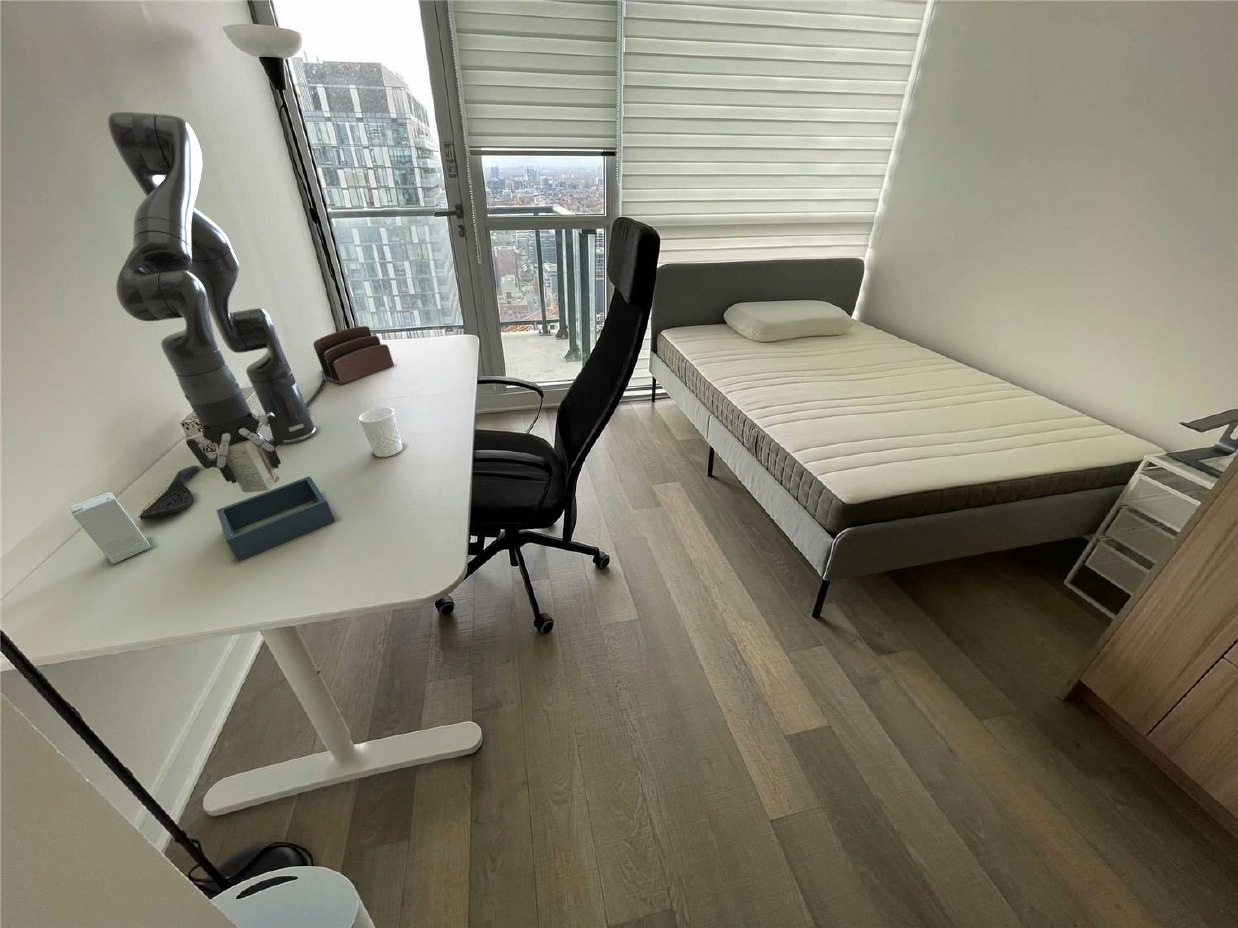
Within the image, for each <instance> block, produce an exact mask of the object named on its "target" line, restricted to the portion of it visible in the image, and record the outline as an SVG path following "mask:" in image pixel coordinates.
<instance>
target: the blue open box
mask: <svg viewBox="0 0 1238 928" xmlns="http://www.w3.org/2000/svg"><path fill="white" fill-rule="evenodd" d="M312 500H315V502H314V503H312V504H309V505H307V506H304V507H302V508H299V509H296V510H294V511H291V512H289V513H286V514H283V515H281V516H279V517H276V518H273V519H271V520H268V521H266V522H263V523H261V524H258V525H256V526H253V527H251V528H250V527H249V528H248V529H245V530H243V531H241V532H238V533H236V530H237V529H240V528H243V527H245V526H247V525H250V524H252V523H255V522H257V521H260V520H263V519H265V518H268V517H270V516H273V515H276V514H278V513H281V512H284V511H286V510H289V509H291V508H294V507H296V506H299V505H302V504H304V503H306V502H309V501H312ZM216 513H217V516H218V519H219V522H220V526H221V529H222V533H223V535H224V538H225V541H226V543H227V545H228V547H229V548H230V550H231V552H232V553H233V555H234V556H235V558H236V560H237V562H241V561H243V560H245V559H247V558H251V557H253V556H255V555H257V554H260V553H262V552H264V551H267V550H269V549H271V548H274V547H276V546H279V545H281V544H284V543H286V542H288V541H290V540H293V539H295V538H298V537H300V536H303V535H306V534H307V533H310V532H313V531H315V530H318V529H320V528H322V527H325V526H328V525H329V524H332V523H334V522H336V519H335V517H334V515H333V513H332V510H331V508H330V506H329V503H328V501H327V499H326V498H325V496H324V495H323V493H322V492H321V490H320V489H319V487H318V486H317V484H316V483H315V481H314V480H313V479H312V477H311V476H310V475H309V476H306V477H303V478H300V479H298V480H294V481H292V482H289V483H287V484H284V485H280V486H278V487H275V488H273V489H269V490H268V491H263V492H262V493H259V494H256V495H253V496H251V497H248V498H246V499H242V500H239V501H237V502H234V503H231V504H228V505H226V506H223V507H220V508H218V509H216Z"/></svg>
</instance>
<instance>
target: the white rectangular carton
mask: <svg viewBox="0 0 1238 928" xmlns="http://www.w3.org/2000/svg"><path fill="white" fill-rule="evenodd" d="M255 435H257V436H258V434H255ZM256 440H257V439H256ZM219 447H220V446H219ZM219 447H218V448H219ZM226 463H227V464H228V466H229V468H230V470H231V472H232V473H233V475H234V477H235V479H236V481H237V482H236V483H237V484H238V486H239V488H240V490H241V491H242V493H254V492H255V493H256V492H267V491H270V490H271V489H272V488H273V487H274V486H275V485H276V484H277V483H278V481H280V479H281V478H280V476H279V474H278V472H277V470H276V469H275V468H274V466H273V464H272V462H271V460H270V458H269V456H268V454H267V452H266V450H265V449H264V448H263V447H261V446H259V445H257V444H256V443H254V442H253V441H251V440H246V441H243V442H240V443H237V444H234V445H231V446H229V448H228V454H227V457H226Z"/></svg>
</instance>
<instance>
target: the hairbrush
mask: <svg viewBox="0 0 1238 928" xmlns="http://www.w3.org/2000/svg"><path fill="white" fill-rule="evenodd" d="M199 470H200V467H199V466H198V465H190V466H188V467H185V468H183V469H181V470H179V471H178V472H176V474H175V476H174V479H173V480H172V481H171V483H170V485H169V486H166V488H164V490H165V491H164V492H162V490H161V491H160V493H161V494H158V496H157V498H156V497H154V498H153V500H154V501H153V502H151V501H149V503H147V505H145V506H144V508H145V509H142V511H141V510H140V515H139V516H138V518H139V519H140V521H143V520H147V519H153V518H158V517H161V516H166V515H169V514H173V513H177V512H180V511H182V510H186V509H188V508H189V507H190V506H191V505H192V504H193V503H194V501H195V499H194V495H193V493H192V491H191V490H190V489H189V487H187V485H186V484H185V482H186V481H187V479H188V478H189V477H190V476H191V475H193V474H194V473H196V472H197V471H199ZM155 498H156V499H155ZM151 503H152V504H151Z"/></svg>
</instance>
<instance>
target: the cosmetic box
mask: <svg viewBox="0 0 1238 928" xmlns="http://www.w3.org/2000/svg"><path fill="white" fill-rule="evenodd" d="M69 510H70V512H71V515H72V516H73V518H74V519H75V520H76V521H77V522H78V523H79V525H80V526H81V527H82V529H83V530H84V531H85V532H86V533H87V535H88V536H89V537H90V538H91V539H92V541H93V542H94V543H95V544H96V546H97V547H98V548H99V549H100V550H101V552H102V553H103V555H104V556H105V557H106V558H107V559H108V560H109V562H110V563H111V564H113V565H114V564H117V563H119V562H121V561H124V560H126V559H128V558H131V557H133V556H134V555H137V554H140V553H142V552H144V551H146V550H149V549H150V548H151V545H150V543H149V541H148V539H147V538H146V537H145V536H144V534H143V533H142V531H141V530H140V529H139V527H138V526H137V525H136V523H135V522H134V521H133V519H132V517H130V515H129V513H127V511H126V510H125V508H124V507H123V506H122V504H121V503H120V502H119V500H117V498H116V496H115V494H113V493H112V491H108V492H106V493H103V494H100V495H97V496H95V497H92V498H90V499H87V500H84V501H82V502H81V501H80V502H78V503H76V504H73V505H70V506H69Z"/></svg>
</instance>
